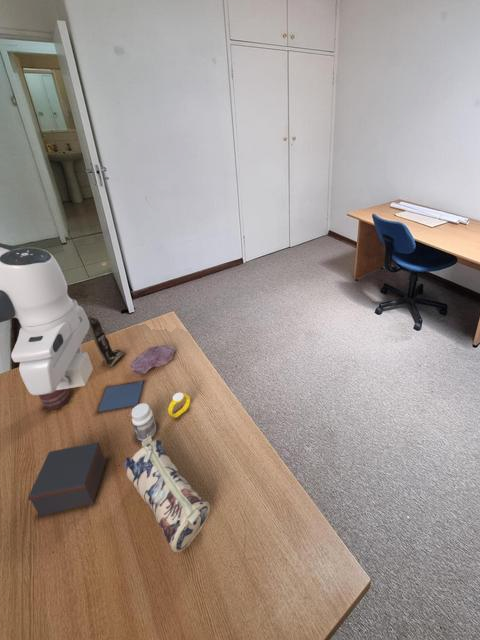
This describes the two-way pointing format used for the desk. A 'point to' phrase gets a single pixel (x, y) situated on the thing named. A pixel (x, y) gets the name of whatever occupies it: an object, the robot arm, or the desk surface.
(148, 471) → the pencil case
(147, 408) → the pill bottle
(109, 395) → the mat
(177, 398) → the watch
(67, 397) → the can
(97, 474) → the storage box
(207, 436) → the desk surface
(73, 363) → the small box
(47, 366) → the robot arm
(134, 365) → the fossil
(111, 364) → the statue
